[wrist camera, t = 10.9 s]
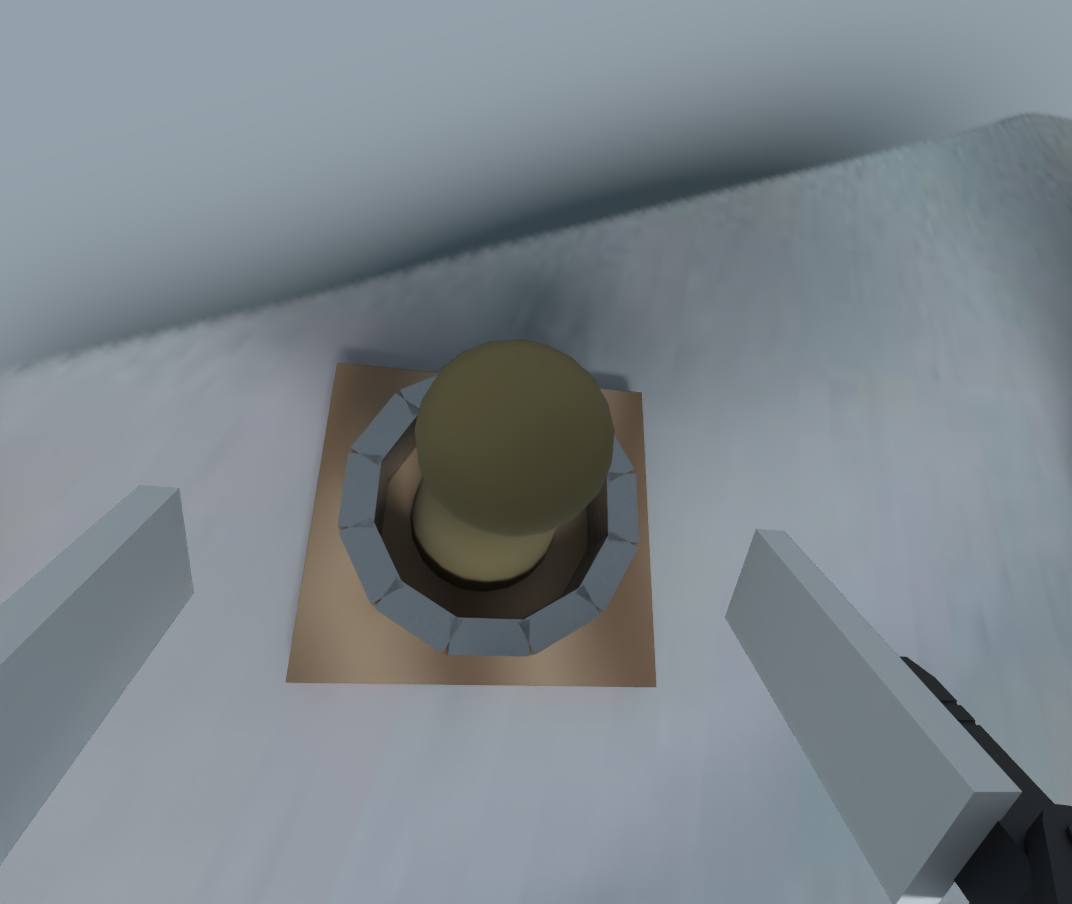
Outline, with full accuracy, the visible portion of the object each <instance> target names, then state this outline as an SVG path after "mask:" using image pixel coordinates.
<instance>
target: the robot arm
mask: <svg viewBox="0 0 1072 904" xmlns="http://www.w3.org/2000/svg"><path fill="white" fill-rule="evenodd" d="M193 593H194V591H193V584H192V577H191V569H190V562H189V555H188V548H187V541H186V533H185V526H184V519H183V512H182V505H181V498H180V490H179V488H171V487H157V486H143V485H139V486H138V487H137V488H136V489H135V490H134V491H132V492H131V493H130V494H129V495H128V496H127V497H126V498H124V499H123V500H122V501H121V502H120V503H119V504H117V505H116V506H115V507H114V508H113V509H112V510H111V511H109V512H108V513H107V514H106V515H105V516H104V517H102V518H101V519H100V520H99V521H98V522H97V523H95V524H94V525H93V526H92V527H91V528H90V529H89V530H87V531H86V532H85V533H84V534H83V535H82V536H80V537H79V538H78V539H77V540H76V541H75V542H73V543H72V544H71V545H70V546H69V547H68V548H67V549H65V550H64V551H63V552H62V553H61V554H60V555H58V556H57V557H56V558H55V559H54V560H53V561H52V562H50V563H49V564H48V565H47V566H46V567H45V568H43V569H42V570H41V571H40V572H39V573H38V574H36V575H35V576H34V577H33V578H32V579H31V580H30V581H28V582H27V583H26V584H25V585H24V586H23V587H21V588H20V589H19V590H18V591H17V592H16V593H14V594H13V595H12V596H11V597H10V598H9V599H8V600H6V601H5V602H4V603H3V604H2V605H1V606H0V865H1V863H2V862H3V860H4V859H5V858H6V856H7V855H8V853H9V852H10V850H11V849H12V848H13V846H14V845H15V843H16V842H17V841H18V839H19V838H20V836H21V835H22V834H23V832H24V831H25V829H26V828H27V827H28V825H29V824H30V822H31V821H32V820H33V818H34V817H35V815H36V814H37V812H38V811H39V810H40V808H41V807H42V805H43V804H44V803H45V801H46V800H47V798H48V797H49V796H50V794H51V793H52V791H53V790H54V789H55V787H56V786H57V784H58V783H59V782H60V780H61V779H62V777H63V776H64V774H65V773H66V772H67V770H68V769H69V767H70V766H71V765H72V763H73V762H74V760H75V759H76V758H77V756H78V755H79V753H80V752H81V751H82V749H83V748H84V746H85V745H86V744H87V742H88V741H89V739H90V738H91V736H92V735H93V734H94V732H95V731H96V729H97V728H98V727H99V725H100V724H101V722H102V721H103V720H104V718H105V717H106V715H107V714H108V713H109V711H110V710H111V708H112V707H113V706H114V704H115V703H116V701H117V700H118V698H119V697H120V696H121V694H122V693H123V691H124V690H125V689H126V687H127V686H128V684H129V683H130V682H131V680H132V679H133V677H134V676H135V675H136V673H137V672H138V670H139V669H140V667H141V666H142V665H143V663H144V662H145V660H146V659H147V658H148V656H149V655H150V653H151V652H152V651H153V649H154V648H155V646H156V645H157V644H158V642H159V641H160V639H161V638H162V637H163V635H164V634H165V632H166V631H167V629H168V628H169V627H170V625H171V624H172V622H173V621H174V620H175V618H176V617H177V615H178V614H179V613H180V611H181V610H182V608H183V607H184V606H185V604H186V603H187V601H188V600H189V599H190V597H191V596H192V594H193ZM725 618H726V620H727V621H728V623H729V625H730V626H731V628H732V630H733V632H734V633H735V635H736V637H737V638H738V640H739V642H740V643H741V645H742V647H743V649H744V650H745V652H746V654H747V655H748V657H749V659H750V661H751V662H752V664H753V666H754V667H755V669H756V671H757V673H758V674H759V676H760V678H761V679H762V681H763V683H764V685H765V686H766V688H767V690H768V691H769V693H770V695H771V696H772V698H773V700H774V702H775V703H776V705H777V707H778V708H779V710H780V712H781V714H782V715H783V717H784V719H785V720H786V722H787V724H788V726H789V727H790V729H791V731H792V732H793V734H794V736H795V737H796V739H797V741H798V743H799V744H800V746H801V748H802V749H803V751H804V753H805V755H806V756H807V758H808V760H809V761H810V763H811V765H812V767H813V768H814V770H815V772H816V773H817V775H818V777H819V779H820V780H821V782H822V784H823V785H824V787H825V789H826V790H827V792H828V794H829V796H830V797H831V799H832V801H833V802H834V804H835V806H836V808H837V809H838V811H839V813H840V814H841V816H842V818H843V820H844V821H845V823H846V825H847V826H848V828H849V830H850V832H851V833H852V835H853V837H854V838H855V840H856V842H857V843H858V845H859V847H860V849H861V850H862V852H863V854H864V855H865V857H866V859H867V861H868V862H869V864H870V866H871V867H872V869H873V871H874V873H875V874H876V876H877V878H878V879H879V881H880V883H881V885H882V886H883V888H884V890H885V891H886V893H887V895H888V896H889V898H890V900H891V902H892V903H893V904H938V903H939V902H940V901H941V899H942V898H943V897H944V895H945V894H946V893H947V891H948V890H949V889H950V887H951V886H952V885H953V883H954V882H956V884H957V885H958V887H959V888H960V889H961V891H962V892H963V894H964V895H965V897H966V898H967V900H968V901H969V902H970V903H969V904H1072V806H1067V805H1058V804H1054V803H1053V802H1052V801H1051V800H1050V799H1049V798H1048V797H1047V796H1046V795H1045V794H1044V792H1043V791H1042V790H1041V789H1040V788H1039V787H1038V786H1037V785H1036V784H1035V783H1034V782H1033V781H1032V780H1031V779H1030V778H1029V777H1028V776H1027V775H1026V773H1025V772H1024V771H1023V770H1022V769H1021V768H1020V767H1019V766H1018V765H1017V764H1016V763H1015V762H1014V761H1013V760H1012V759H1011V758H1010V757H1009V755H1008V754H1007V753H1006V752H1005V751H1004V750H1003V749H1002V748H1001V747H1000V746H999V745H998V744H997V743H996V742H995V741H994V740H993V739H992V737H991V736H990V735H989V734H988V733H987V732H986V731H985V730H984V729H983V728H982V727H981V726H980V725H976V724H975V720H974V718H973V717H972V716H971V715H970V714H969V713H968V712H967V711H966V710H965V709H964V708H963V707H962V706H961V705H957V700H956V699H955V698H954V697H953V696H952V695H951V694H950V693H949V692H948V691H947V690H946V689H945V688H944V687H943V686H942V685H941V684H940V682H939V681H938V680H937V679H936V678H935V677H934V676H932V675H931V674H929V673H928V672H927V671H925V670H924V669H923V668H921V667H920V666H918V665H917V664H916V663H914V662H913V661H912V660H910V659H909V658H907V657H899V656H898V655H897V654H896V653H895V651H894V650H893V649H892V648H891V647H890V646H889V645H888V644H887V643H886V642H885V641H884V639H883V638H882V637H881V636H880V635H879V634H878V633H877V632H876V631H875V630H874V628H873V627H872V626H871V625H870V624H869V623H868V622H867V621H866V620H865V619H864V617H863V616H862V615H861V614H860V613H859V612H858V611H857V610H856V609H855V608H854V606H853V605H852V604H851V603H850V602H849V601H848V600H847V599H846V598H845V597H844V595H843V594H842V593H841V592H840V591H839V590H838V589H837V588H836V587H835V586H834V585H833V583H832V582H831V581H830V580H829V579H828V578H827V577H826V576H825V575H824V574H823V572H822V571H821V570H820V569H819V568H818V567H817V566H816V565H815V564H814V563H813V561H812V560H811V559H810V558H809V557H808V556H807V555H806V554H805V553H804V552H803V550H802V549H801V548H800V547H799V546H798V545H797V544H796V543H795V542H794V541H793V540H792V538H791V537H790V536H789V535H788V534H787V533H786V532H785V531H776V530H762V529H756V531H755V534H754V536H753V539H752V542H751V545H750V548H749V551H748V553H747V556H746V559H745V562H744V565H743V568H742V570H741V573H740V576H739V579H738V582H737V585H736V587H735V590H734V593H733V596H732V599H731V602H730V604H729V607H728V610H727V613H726V616H725Z"/></svg>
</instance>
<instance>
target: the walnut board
mask: <svg viewBox="0 0 1072 904" xmlns="http://www.w3.org/2000/svg"><path fill="white" fill-rule="evenodd" d="M438 374H439V373H437V372H426V371H416V370H406V369H396V368H386V367H375V366H365V365H355V364H345V363H337V367H336V373H335V380H334V386H333V392H332V398H331V404H330V411H329V417H328V423H327V429H326V435H325V441H324V448H323V454H322V460H321V466H320V472H319V479H318V485H317V491H316V497H315V503H314V510H313V516H312V522H311V528H310V534H309V541H308V547H307V553H306V559H305V565H304V572H303V578H302V584H301V590H300V596H299V602H298V609H297V615H296V621H295V627H294V633H293V640H292V646H291V652H290V658H289V664H288V671H287V677H286V682H290V683H368V684H445V685H523V686H600V687H656V672H655V651H654V631H653V611H652V591H651V571H650V551H649V531H648V511H647V491H646V471H645V451H644V431H643V411H642V393H641V392H631V391H620V390H610V389H600V390H601V392H602V393H603V395H604V397H605V399H606V400H607V402H608V404H609V408H610V413H611V417H612V421H613V425H614V429H615V433H614V435H615V437H616V439H617V440H618V442H619V444H620V445H621V447H622V449H623V450H624V452H625V454H626V455H627V457H628V459H629V460H630V462H631V464H632V465H633V467H634V470H633V471H632V472H631V473H630V474H636V480H637V503H638V526H639V543H638V544H636V545H634V546H636V547H637V548H638V549H637V551H636V553H635V555H634V557H633V559H632V560H631V562H630V564H629V566H628V568H627V570H626V572H625V574H624V576H623V578H622V580H621V581H620V583H619V585H618V587H617V589H616V591H615V593H614V595H613V597H612V599H611V600H610V602H609V604H608V606H607V608H606V610H605V612H601V613H599V614H600V617H598V618H596V619H595V620H593V621H591V622H590V623H588V624H586V625H584V626H583V627H581V628H579V629H578V630H576V631H574V632H573V633H571V634H569V635H568V636H566V637H564V638H563V639H561V640H559V641H558V642H556V643H554V644H553V645H551V646H549V647H548V648H546V649H544V650H542V651H541V652H539V653H537V654H536V655H529V657H521V656H474V655H447V646H446V648H445V650H444V651H443V653H440V652H439V651H437V650H436V649H434V648H433V647H431V646H430V645H428V644H427V643H425V642H424V641H422V640H421V639H419V638H418V637H416V636H414V635H413V634H411V633H410V632H408V631H407V630H405V629H404V628H402V627H401V626H399V625H398V624H396V623H395V622H393V621H392V620H390V619H389V618H387V617H386V616H384V615H383V614H381V613H380V612H379V611H377V610H376V609H375V607H374V606H373V605H371V604H370V602H369V599H368V597H367V595H366V593H365V591H364V588H363V586H362V584H361V582H360V579H359V577H358V575H357V573H356V570H355V568H354V566H353V564H352V562H351V559H350V557H349V555H348V553H347V550H346V548H345V546H344V544H343V542H342V539H341V537H340V535H339V533H338V532H340V531H341V530H340V529H339V528H338V519H339V512H340V505H341V498H342V491H343V485H344V478H345V471H346V464H347V457H348V453H352V450H351V446H352V445H353V444H354V443H355V441H356V440H357V439H358V438H359V437H360V435H361V434H362V433H363V432H364V430H365V429H366V428H367V427H368V426H369V424H370V423H371V422H372V421H373V420H374V418H375V417H376V416H377V415H378V413H379V412H380V411H381V410H382V409H383V407H384V406H385V405H386V404H387V403H388V401H389V400H390V399H391V398H392V396H393V395H394V394H395V393H396V394H398V395H399V396H401V395H400V390H401V389H403V388H406V387H408V386H411V385H413V384H416V383H418V382H421V381H423V380H426V379H429V378H431V377H434V376H436V375H438ZM422 477H423V474H422V472H421V470H420V468H419V463H418V455H417V446H416V448H415V449H414V450H413V452H412V453H411V454H410V456H409V457H408V458H407V460H406V461H405V462H404V463H403V465H402V466H401V467H400V469H399V470H398V471H397V473H396V474H395V475H394V476H393V478H392V479H391V480H390V482H389V483H388V486H387V495H386V504H385V512H384V521H383V529H382V540H383V543H384V545H385V547H386V549H387V551H388V553H389V555H390V558H391V560H392V562H393V564H394V566H395V568H396V570H397V573H398V575H399V577H400V579H401V581H402V582H404V583H405V584H407V585H408V586H410V587H411V588H413V589H415V590H416V591H418V592H419V593H421V594H422V595H424V596H425V597H427V598H428V599H430V600H431V601H433V602H434V603H436V604H437V605H439V606H441V607H442V608H444V609H445V610H447V611H448V612H450V613H451V614H453V615H454V616H456V617H458V618H489V619H522V618H523V617H525V616H527V615H529V614H530V613H532V612H534V611H536V610H537V609H539V608H541V607H543V606H544V605H546V604H548V603H550V602H552V601H553V600H555V599H557V598H559V597H560V596H561V595H562V594H563V592H564V590H565V588H566V587H567V585H568V583H569V581H570V580H571V578H572V576H573V574H574V572H575V571H576V569H577V567H578V565H579V564H580V562H581V560H582V558H583V557H584V555H585V553H586V551H587V549H588V537H587V506H586V507H585V508H584V509H583V510H582V511H581V512H580V513H579V514H578V515H577V516H576V517H575V518H573V519H572V520H570V521H568V522H566V523H564V524H562V525H560V526H558V527H557V529H556V532H555V535H554V537H553V540H552V543H551V545H550V547H549V549H548V551H547V553H546V555H545V557H544V560H543V561H542V562H541V563H540V564H539V565H538V567H537V568H536V569H535V570H534V571H533V572H532V573H531V574H530V575H529V576H528V577H527V578H525V579H523V580H521V581H519V582H517V583H516V584H514V585H512V586H510V587H508V588H505V589H499V590H493V591H487V592H480V591H474V590H468V589H461V588H459V587H457V586H455V585H453V584H451V583H449V582H447V581H445V580H443V579H441V578H439V577H438V576H437V575H436V574H435V573H434V572H433V571H432V570H431V569H430V567H429V566H428V565H427V564H426V563H425V562H424V561H423V560H422V558H421V556H420V554H419V552H418V549H417V547H416V545H415V543H414V541H413V537H412V528H411V519H410V515H411V511H412V506H413V502H414V497H415V494H416V491H417V489H418V487H419V484H420V482H421V480H422Z"/></svg>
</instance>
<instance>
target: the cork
mask: <svg viewBox="0 0 1072 904" xmlns="http://www.w3.org/2000/svg"><path fill="white" fill-rule="evenodd" d="M614 433H615V429H614V425H613V421H612V417H611V413H610V408H609V404H608V402H607V400H606V399H605V397H604V395H603V393H602V392H601V390H600V388H599V387H598V385H597V383H596V382H595V380H594V379H593V378H592V376H591V375H589V374H588V373H587V372H586V371H585V370H584V369H583V368H582V367H581V366H580V365H579V364H578V363H577V362H576V361H574V360H573V359H572V358H571V357H569V356H567V355H565V354H563V353H562V352H560V351H558V350H556V349H554V348H552V347H550V346H548V345H544V344H539V343H534V342H530V341H525V340H510V341H495V342H488V343H486V344H483V345H480V346H478V347H475V348H472V349H470V350H467V351H464V352H463V353H461V354H460V355H459V356H457V357H456V358H455V359H454V360H452V361H451V362H450V363H449V364H447V365H446V366H445V367H443V368H442V369H441V370H440V372H439V374H438V375H437V377H436V378H435V380H434V381H433V383H432V384H431V386H430V388H429V389H428V391H427V392H426V394H425V395H424V397H423V399H422V400H421V404H420V408H419V412H418V417H417V421H416V425H415V438H416V446H417V455H418V463H419V468H420V470H421V472H422V474H423V477H422V480H421V482H420V484H419V487H418V489H417V491H416V494H415V497H414V502H413V506H412V511H411V515H410V519H411V528H412V537H413V541H414V543H415V545H416V547H417V549H418V552H419V554H420V556H421V558H422V560H423V561H424V562H425V563H426V564H427V565H428V566H429V567H430V569H431V570H432V571H433V572H434V573H435V574H436V575H437V576H438V577H439V578H441V579H443V580H445V581H447V582H449V583H451V584H453V585H455V586H457V587H459V588H461V589H468V590H474V591H480V592H487V591H493V590H499V589H505V588H508V587H510V586H512V585H514V584H516V583H517V582H519V581H521V580H523V579H525V578H527V577H528V576H529V575H530V574H531V573H532V572H533V571H534V570H535V569H536V568H537V567H538V565H539V564H540V563H541V562H542V561H543V560H544V557H545V555H546V553H547V551H548V549H549V547H550V545H551V543H552V540H553V537H554V535H555V532H556V529H557V527H558V526H560V525H562V524H564V523H566V522H568V521H570V520H572V519H573V518H575V517H576V516H577V515H578V514H579V513H580V512H581V511H582V510H583V509H584V508H585V507H586V506H587V505H588V504H589V503H590V502H591V501H592V499H593V498H594V497H595V496H596V495H597V494H598V493H599V491H600V489H601V487H602V485H603V483H604V480H605V478H606V476H607V474H608V471H609V469H610V467H611V462H612V456H613V445H614Z"/></svg>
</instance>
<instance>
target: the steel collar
mask: <svg viewBox="0 0 1072 904" xmlns="http://www.w3.org/2000/svg"><path fill="white" fill-rule="evenodd" d="M436 377H437V375H436V376H434V377H431V378H429V379H426V380H423V381H421V382H418V383H416V384H413V385H411V386H408V387H406V388H403V389H401V390H400V395H401V396H399V395H398V394H396V393H395V394H394V395H393V396H392V398H391V399H390V400H389V401H388V403H387V404H386V405H385V406H384V407H383V409H382V410H381V411H380V412H379V413H378V415H377V416H376V417H375V418H374V420H373V421H372V422H371V423H370V424H369V426H368V427H367V428H366V429H365V430H364V432H363V433H362V434H361V435H360V437H359V438H358V439H357V440H356V441H355V443H354V444H353V445H352V446H351V450H352V453H348V457H347V464H346V471H345V478H344V485H343V491H342V498H341V505H340V512H339V519H338V528H339V529H340V530H341V531H340V532H338V533H339V535H340V537H341V539H342V542H343V544H344V546H345V548H346V550H347V553H348V555H349V557H350V559H351V562H352V564H353V566H354V568H355V570H356V573H357V575H358V577H359V579H360V582H361V584H362V586H363V588H364V591H365V593H366V595H367V597H368V599H369V602H370V604H371V605H373V606H374V607H375V609H376V610H377V611H379V612H380V613H381V614H383V615H384V616H386V617H387V618H389V619H390V620H392V621H393V622H395V623H396V624H398V625H399V626H401V627H402V628H404V629H405V630H407V631H408V632H410V633H411V634H413V635H414V636H416V637H418V638H419V639H421V640H422V641H424V642H425V643H427V644H428V645H430V646H431V647H433V648H434V649H436V650H437V651H439V652H440V653H443V651H444V650H445V648H446V646H447V655H474V656H521V657H529V655H536V654H537V653H539V652H541V651H542V650H544V649H546V648H548V647H549V646H551V645H553V644H554V643H556V642H558V641H559V640H561V639H563V638H564V637H566V636H568V635H569V634H571V633H573V632H574V631H576V630H578V629H579V628H581V627H583V626H584V625H586V624H588V623H590V622H591V621H593V620H595V619H596V618H598V617H600V614H599V613H601V612H605V610H606V608H607V606H608V604H609V602H610V600H611V599H612V597H613V595H614V593H615V591H616V589H617V587H618V585H619V583H620V581H621V580H622V578H623V576H624V574H625V572H626V570H627V568H628V566H629V564H630V562H631V560H632V559H633V557H634V555H635V553H636V551H637V549H638V548H637V547H636V546H634V545H636V544H638V543H639V526H638V503H637V480H636V474H630V473H631V472H632V471H633V470H634V467H633V465H632V464H631V462H630V460H629V459H628V457H627V455H626V454H625V452H624V450H623V449H622V447H621V445H620V444H619V442H618V440H617V439H616V437H615V435H614V445H613V456H612V462H611V467H610V469H609V471H608V474H607V476H606V478H605V480H604V483H603V485H602V487H601V489H600V491H599V493H598V494H597V495H596V496H595V497H594V498H593V499H592V501H591V502H590V503H589V504H588V505H587V537H588V549H587V551H586V553H585V555H584V557H583V558H582V560H581V562H580V564H579V565H578V567H577V569H576V571H575V572H574V574H573V576H572V578H571V580H570V581H569V583H568V585H567V587H566V588H565V590H564V592H563V594H562V595H561V596H560V597H559V598H557V599H555V600H553V601H552V602H550V603H548V604H546V605H544V606H543V607H541V608H539V609H537V610H536V611H534V612H532V613H530V614H529V615H527V616H525V617H523V618H522V619H489V618H458V617H456V616H454V615H453V614H451V613H450V612H448V611H447V610H445V609H444V608H442V607H441V606H439V605H437V604H436V603H434V602H433V601H431V600H430V599H428V598H427V597H425V596H424V595H422V594H421V593H419V592H418V591H416V590H415V589H413V588H411V587H410V586H408V585H407V584H405V583H404V582H402V581H401V579H400V577H399V575H398V573H397V570H396V568H395V566H394V564H393V562H392V560H391V558H390V555H389V553H388V551H387V549H386V547H385V545H384V543H383V540H382V529H383V521H384V512H385V504H386V495H387V486H388V483H389V482H390V480H391V479H392V478H393V476H394V475H395V474H396V473H397V471H398V470H399V469H400V467H401V466H402V465H403V463H404V462H405V461H406V460H407V458H408V457H409V456H410V454H411V453H412V452H413V450H414V449H415V448H416V438H415V425H416V421H417V417H418V412H419V408H420V404H421V400H422V399H423V397H424V395H425V394H426V392H427V391H428V389H429V388H430V386H431V384H432V383H433V381H434V380H435V378H436Z"/></svg>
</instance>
